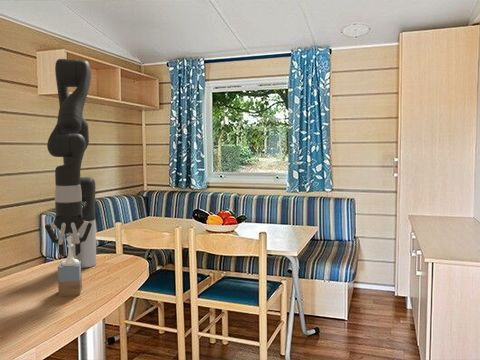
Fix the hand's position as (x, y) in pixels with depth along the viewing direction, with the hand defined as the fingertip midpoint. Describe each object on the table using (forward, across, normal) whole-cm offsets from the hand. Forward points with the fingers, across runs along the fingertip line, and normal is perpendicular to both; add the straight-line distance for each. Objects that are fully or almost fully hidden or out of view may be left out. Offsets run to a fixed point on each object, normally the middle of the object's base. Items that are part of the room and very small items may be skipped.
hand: (70, 255), depth 128 cm
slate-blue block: (+7, 0, 0) cm, 7 cm away
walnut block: (+12, 0, 0) cm, 12 cm away
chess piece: (+3, 0, 0) cm, 3 cm away
